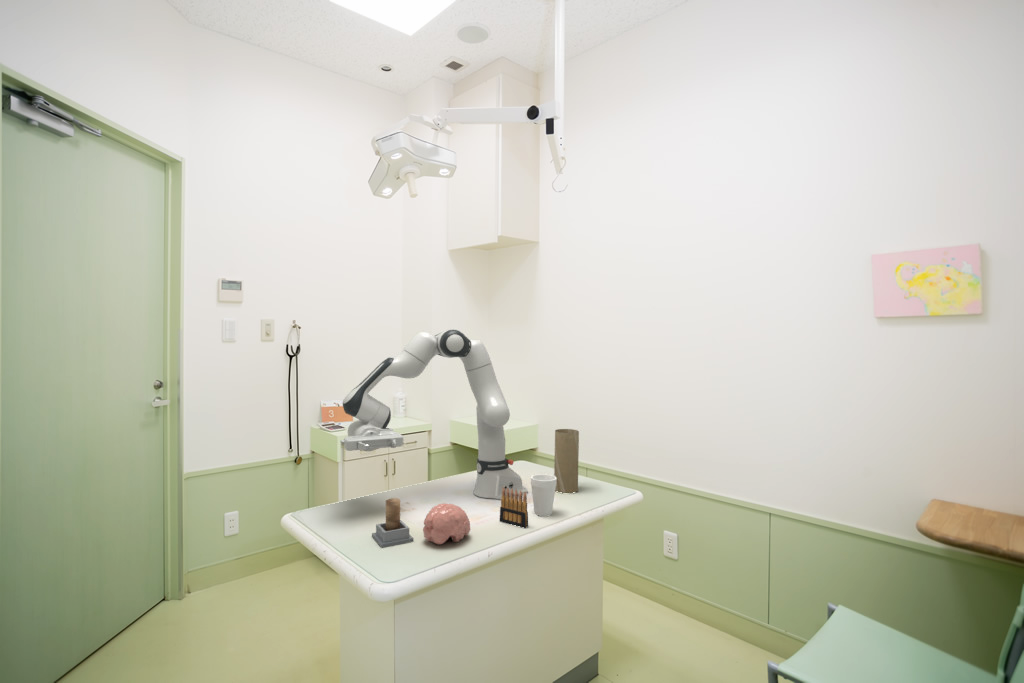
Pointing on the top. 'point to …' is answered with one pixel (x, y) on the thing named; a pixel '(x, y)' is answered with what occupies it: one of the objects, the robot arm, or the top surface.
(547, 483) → the foam cup
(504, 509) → the ammunition clip
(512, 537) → the top surface
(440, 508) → the brain
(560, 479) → the tube
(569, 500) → the top surface
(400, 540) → the socket block
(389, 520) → the brown rounded peg
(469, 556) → the top surface
